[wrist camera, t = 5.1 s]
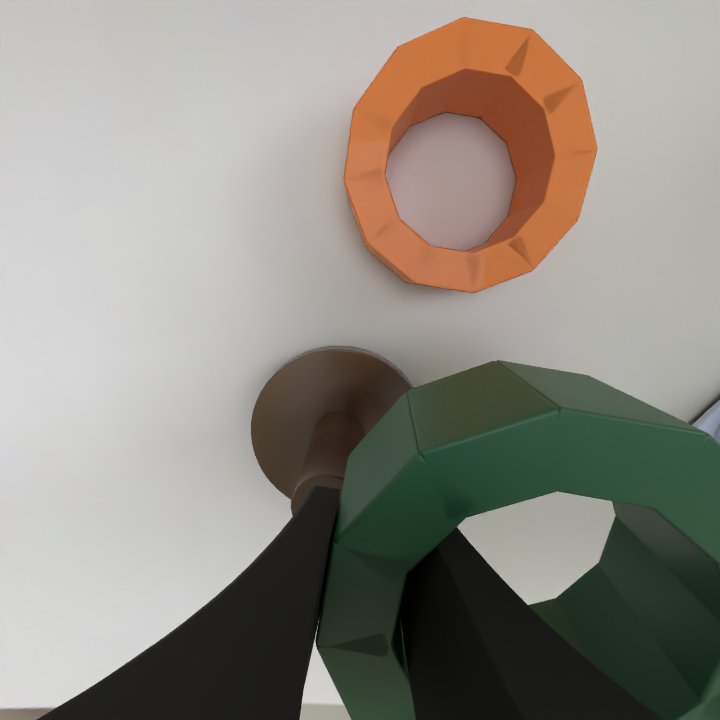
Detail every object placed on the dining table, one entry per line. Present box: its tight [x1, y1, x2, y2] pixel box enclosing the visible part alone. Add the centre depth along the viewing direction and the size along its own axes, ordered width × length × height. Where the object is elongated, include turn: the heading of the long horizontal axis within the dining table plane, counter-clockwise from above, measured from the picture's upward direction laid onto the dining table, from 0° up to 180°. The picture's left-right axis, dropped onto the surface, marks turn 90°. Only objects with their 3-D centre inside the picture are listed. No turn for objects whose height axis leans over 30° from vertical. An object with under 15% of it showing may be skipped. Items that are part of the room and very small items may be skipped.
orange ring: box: [344, 17, 597, 293], centre depth 15 cm, size 9×9×4 cm
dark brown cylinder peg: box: [251, 346, 414, 519], centre depth 17 cm, size 9×9×7 cm
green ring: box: [316, 360, 720, 720], centre depth 9 cm, size 9×9×4 cm
